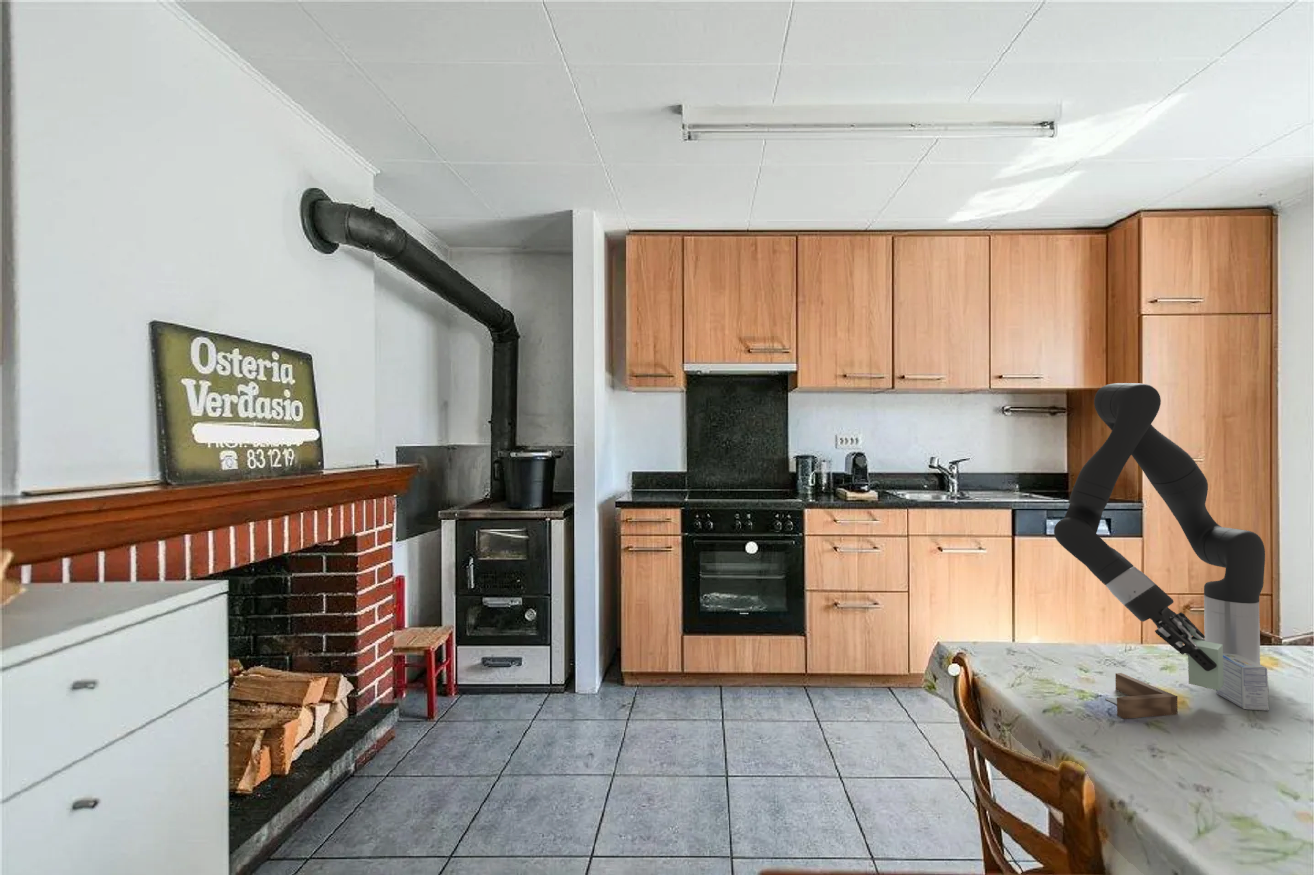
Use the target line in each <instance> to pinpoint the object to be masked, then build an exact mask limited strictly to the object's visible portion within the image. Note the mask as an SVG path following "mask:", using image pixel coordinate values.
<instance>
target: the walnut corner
mask: <svg viewBox="0 0 1314 875" xmlns="http://www.w3.org/2000/svg"><path fill="white" fill-rule="evenodd" d="M1115 691H1117V692H1120V693H1122V694H1124V695H1126V696H1118V697H1111V698H1110V697H1109V698H1105V701H1107V702H1109V703H1111V704H1114V705H1115V706H1116V716H1118V717H1119V718H1122V719H1124V720H1125V719H1136V718H1137V719H1138V718H1149V717H1159V716H1161V717H1162V716H1172V715H1174V716H1175V715H1178V712H1179V711H1178V709H1179V708H1178V696H1177V695H1175V694H1174V693H1170V692H1168V691H1165V690H1164V689H1161V688H1158V687H1156V686H1154V685H1151V684H1149V683H1146V682H1144V681H1141V680H1139V679H1137V678H1135V677H1132V676H1130V675H1127V674H1125V673H1122V672H1119V673H1115Z"/></svg>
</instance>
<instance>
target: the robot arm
mask: <svg viewBox="0 0 1314 875" xmlns="http://www.w3.org/2000/svg"><path fill="white" fill-rule="evenodd" d="M1093 400H1094V401H1093V402H1094V408H1095V411H1096V413H1097V416H1099V418H1100V419H1101V421H1103V422H1104V424H1106V426H1107V427H1108V429H1110V430H1111V432H1110V434H1109V436H1108V437H1107V439H1106V440H1105V441H1104V443H1103V444H1102V445H1101V446H1100V448H1099V449H1098V450H1097V451H1095V453H1094V454H1093V455H1092V456H1091V457H1090V458H1089V459H1088V460H1087V461H1086V463H1085V464H1084V465H1083V466H1082V468H1081V469H1080V471H1079V473H1078V476H1077V478H1076V480H1075V483H1074V485H1073V487H1072V490H1071V493H1070V495H1069V505H1068V507H1067V510H1066V513H1065V515H1064V518H1062V519H1060V520H1059V521H1057V523H1055V525H1054V528H1053V535H1054V538H1055V540H1056V541H1057V542H1058V543H1059V544H1060V545H1061V546H1062V547H1063V548H1064V549H1065V550H1066V551H1067V552H1068V553H1070V555H1072V556H1073V557H1075V559H1077V561H1080V563H1082V564H1083V565H1084V566H1085V567H1087V569H1088V571H1090V572H1091V573H1092V574H1093V575H1094V577H1096V578H1097V580H1099V581H1100V582H1101V583H1102V584H1103V585H1104V586H1105V587H1106V588H1107V589H1108V590H1109V592H1110V593H1111V594H1112V595H1113V596H1114V597H1115V598H1116V599H1117V600H1118V601H1119V602H1120V603H1121V604H1122V605H1123V606H1124V607H1125V608H1126V609H1127V610H1128V611H1129V612H1130V613H1131V614H1132V615H1133V616H1134V617H1136V618H1137V620H1139V621H1140V622H1146V621H1148V620H1150V621H1152V622H1153V623H1154V625H1155V626H1156V629H1155V630H1154V633H1155V634H1156V635H1158V636H1159V638H1161V639H1162V640H1163V641H1165V642H1166V643H1167V644H1168V645H1170V646H1171V647H1172V648H1173V649H1174V650H1176V651H1177V652H1178V653H1179V654H1180V655H1186V656H1188V655H1190V656H1191V657H1192V658H1193V659H1194V660H1195V661H1196V662H1197V663H1198V664H1199V665H1200V666H1201V667H1202V668H1203V669H1204V670H1206V671H1210V670H1212V669H1214V668H1216V667H1217V664H1216V663H1215V662H1214V661H1213V660H1212V659H1211V658H1209V657H1208V656H1207V655H1206V654H1205V653H1204V652H1203V651H1202V650H1201V649H1199V647H1198V646H1197V645H1196V644H1195V643H1194V641H1193V639H1196V640H1201V641H1207V642H1212V643H1217V644H1223V654H1237V655H1240V656H1243V657H1245V658H1247V659H1249V660H1252V661H1254V662H1256V663H1258V664H1260V665H1261V638H1260V636H1261V632H1260V631H1261V628H1260V627H1261V626H1260V625H1261V623H1260V621H1261V620H1260V618H1261V617H1260V596H1261V593H1262V590H1263V589H1264V588H1263V587H1264V581H1265V580H1264V579H1265V564H1266V549H1265V544H1264V542H1263V539H1262V537H1260V536H1259V535H1258V534H1257V533H1256V532H1254V531H1250V530H1246V529H1239V528H1231V527H1224V526H1221V525H1219V524H1218V523H1217V522H1216V520H1214V518H1213V517H1212V515H1211V514H1210V513H1209V511H1208V509H1207V506H1206V502H1207V497H1208V492H1209V484H1208V480H1207V478H1206V476H1205V474H1204V473H1203V471H1202V470H1201V469H1200V467H1199V465H1198V464H1197V463H1196V461H1195V459H1194V458H1193V457H1191V455H1190V454H1189V453H1188V452H1187V451H1186V450H1184V449H1183V448H1182V447H1181V446H1180V445H1178V444H1176V442H1174V441H1172V440H1171V439H1170V438H1168V437H1167V436H1165V435H1164V434H1163V433H1161V432H1160V431H1159V430H1158V429H1156V428H1155V427H1154V425H1153V423H1154V420H1155V418H1156V417H1157V415H1158V413H1159V411H1160V409H1161V408H1160V407H1161V404H1162V400H1161V395H1160V393H1159V391H1158V390H1157V389H1156V388H1155V387H1154V386H1152V385H1150V384H1146V383H1138V382H1137V383H1135V382H1133V383H1132V382H1130V383H1129V382H1128V383H1127V382H1124V383H1123V382H1117V383H1116V382H1115V383H1110V384H1106V385H1105V384H1104V385H1103V386H1102V387H1100V388H1099V389H1098V390H1097V392H1096V393H1095V396H1094V398H1093ZM1131 456H1132V458H1133V459H1134V461H1135V462H1136V464H1137V465H1138V466H1139V467H1140V469H1141V470H1142V472H1143V474H1144V475H1145V477H1146V478H1147V480H1148V481H1149V483H1150V484H1151V485H1152V487H1153V488H1154V489H1155V491H1156V492H1157V494H1158V495H1159V496H1160V497H1161V499H1162V500H1163V501H1164V503H1165V504H1166V506H1167V507H1168V509H1169V511H1170V512H1171V513H1172V515H1173V516H1174V518H1175V520H1176V521H1177V522H1178V524H1179V526H1180V528H1181V530H1182V532H1183V534H1184V535H1185V537H1186V539H1187V541H1188V543H1189V545H1190V546H1191V548H1192V550H1193V552H1194V554H1195V555H1196V556H1197V558H1199V559H1200V560H1201V561H1202V562H1204V563H1206V564H1208V565H1211V566H1215V567H1219V568H1223V569H1224V568H1225V571H1224V572H1225V573H1224V577H1223V578H1221V579H1220V580H1213V581H1207V582H1205V584H1204V586H1203V608H1204V609H1203V611H1204V614H1203V615H1204V616H1203V618H1204V620H1203V623H1204V624H1203V625H1204V630H1203V631H1204V633H1202V632H1201V630H1199V628H1198V627H1197V626H1196V625H1195V624H1194V623H1193V622H1192V621H1191V620H1190V619H1189V618H1188V616H1186V614H1184V612H1182V611H1181V612H1179V613H1176V612H1174V610H1172V609H1171V608H1169V606H1172V604H1174V599H1173V598H1172V597H1171V596H1170V595H1169V594H1167V593H1166V591H1164V590H1163V589H1162V588H1161V587H1160V586H1159V585H1157V584H1156V583H1155V582H1154V581H1153V580H1152V579H1151V578H1150V577H1149V576H1148V575H1146V574H1145V573H1144V572H1143V571H1141V570H1140V569H1138V568H1137V567H1136V566H1135V565H1134V564H1133V563H1131V562H1130V561H1129V560H1128V559H1127V558H1126V557H1125V556H1124V555H1123V554H1121V553H1120V552H1119V551H1117V550H1116V549H1115V548H1113V547H1111V546H1110V545H1108V543H1107V542H1106V541H1104V540H1103V538H1102V537H1101V536H1100V535H1098V534H1097V532H1098V530H1099V526H1100V523H1101V520H1102V516H1103V512H1104V510H1105V508H1106V506H1108V503H1109V502H1108V501H1109V500H1110V498H1111V496H1112V493H1113V491H1114V488H1115V486H1116V483H1117V481H1118V479H1119V477H1120V475H1121V473H1122V471H1123V468H1124V467H1125V465H1126V464H1127V462H1128V460H1129V459H1130V457H1131Z"/></svg>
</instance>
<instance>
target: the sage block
mask: <svg viewBox="0 0 1314 875" xmlns="http://www.w3.org/2000/svg"><path fill="white" fill-rule="evenodd" d="M1193 641H1194V643H1195V644H1196V645H1197V646H1198V647H1199V649H1201V650H1202V651H1203V652H1204V653H1205V654H1206V655H1207V656H1208V657H1209V658H1211V659H1212V660H1213V661H1214V662H1215V663H1216V664H1217V667H1216V668H1214V669H1212V670H1210V671H1206V670H1204V669H1203V668H1202V667H1201V666H1200V665H1199V664H1198V663H1197V662H1196V661H1195V660H1194V659H1193V658H1192V657H1191V656H1190V655H1187V662H1188V663H1187V666H1188V667H1187V668H1188V685H1193V686H1196V687H1201V688H1206V689H1210V690H1214V691H1216V690H1218V691H1219V690H1220V689H1221V687H1222V686H1223V685H1224V678H1223V644H1217V643H1212V642H1207V641H1201V640H1196V639H1193Z"/></svg>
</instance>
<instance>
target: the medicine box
mask: <svg viewBox="0 0 1314 875" xmlns="http://www.w3.org/2000/svg"><path fill="white" fill-rule="evenodd" d="M1223 678H1224V685H1223V686H1222V687H1221V689H1220V690H1219V691H1218V690H1215V692H1216V694H1217V695H1218V696H1221V697H1222V698H1224V699H1226V700H1228V701H1229V702H1231V703H1232V704H1235V705H1236V706H1238V707H1240V708H1241V709H1244V710H1248V711H1249V710H1251V711H1265V712H1267V711H1270V710H1269V709H1270V708H1269V684H1268V683H1269V682H1268V668H1267V667H1266V666H1264V665H1262V664H1261V663H1260V664H1258V663H1256V662H1254V661H1252V660H1249V659H1247V658H1245V657H1243V656H1240V655H1237V654H1223Z"/></svg>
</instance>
